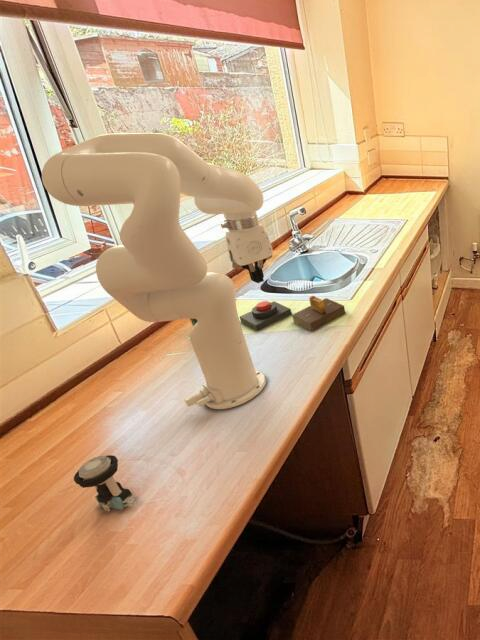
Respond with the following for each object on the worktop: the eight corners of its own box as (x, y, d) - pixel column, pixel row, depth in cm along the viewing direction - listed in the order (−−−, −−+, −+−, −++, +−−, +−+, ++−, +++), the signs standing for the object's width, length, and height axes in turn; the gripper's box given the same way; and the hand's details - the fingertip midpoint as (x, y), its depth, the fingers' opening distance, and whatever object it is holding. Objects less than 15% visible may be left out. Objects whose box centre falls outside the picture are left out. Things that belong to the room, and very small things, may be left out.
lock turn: (325, 311, 125) (323, 299, 123) (321, 313, 124) (319, 301, 122) (315, 306, 127) (313, 295, 126) (311, 308, 126) (309, 297, 125)
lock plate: (312, 331, 120) (310, 323, 119) (294, 322, 124) (291, 314, 123) (345, 313, 130) (343, 305, 128) (327, 305, 134) (326, 297, 132)
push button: (150, 492, 73) (129, 454, 69) (120, 521, 69) (96, 482, 65) (119, 487, 74) (97, 449, 70) (87, 515, 69) (61, 476, 65)
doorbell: (257, 331, 120) (254, 320, 118) (241, 322, 124) (237, 311, 122) (291, 314, 129) (289, 303, 127) (275, 306, 133) (272, 296, 131)
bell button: (261, 313, 123) (260, 308, 122) (255, 309, 124) (253, 304, 124) (273, 307, 125) (271, 303, 125) (266, 304, 127) (265, 299, 126)
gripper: (220, 232, 104) (238, 294, 111) (276, 218, 116) (289, 274, 123) (206, 227, 107) (224, 288, 114) (261, 214, 119) (275, 269, 126)
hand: (258, 281), depth 119 cm, fingers closed
